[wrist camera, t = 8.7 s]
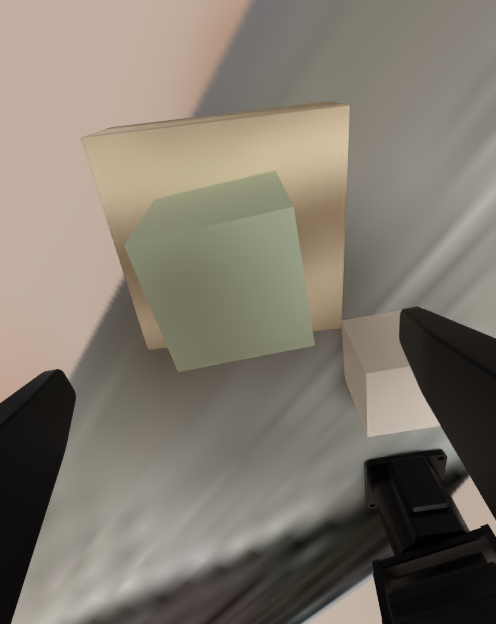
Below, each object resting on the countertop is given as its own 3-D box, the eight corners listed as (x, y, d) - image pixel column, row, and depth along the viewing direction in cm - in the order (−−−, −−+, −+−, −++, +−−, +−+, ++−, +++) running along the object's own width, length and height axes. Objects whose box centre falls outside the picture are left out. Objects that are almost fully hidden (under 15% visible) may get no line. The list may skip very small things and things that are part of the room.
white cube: (416, 366, 25) (454, 423, 21) (344, 378, 25) (367, 437, 21) (421, 305, 23) (466, 356, 18) (341, 319, 23) (366, 373, 19)
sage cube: (294, 280, 17) (314, 345, 13) (191, 302, 17) (178, 372, 13) (275, 170, 14) (293, 206, 10) (154, 199, 15) (123, 245, 11)
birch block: (323, 290, 22) (341, 328, 19) (160, 309, 22) (147, 349, 19) (325, 100, 17) (349, 105, 13) (110, 127, 17) (80, 138, 14)
